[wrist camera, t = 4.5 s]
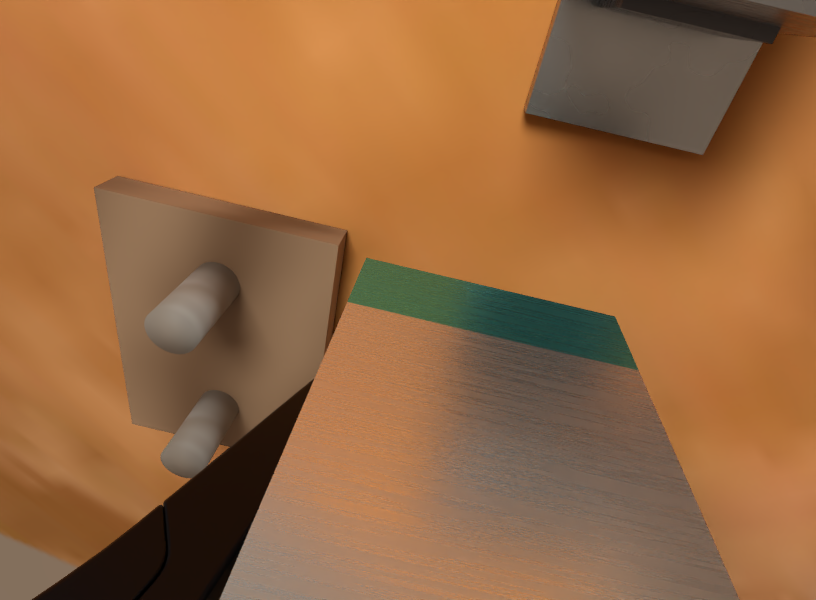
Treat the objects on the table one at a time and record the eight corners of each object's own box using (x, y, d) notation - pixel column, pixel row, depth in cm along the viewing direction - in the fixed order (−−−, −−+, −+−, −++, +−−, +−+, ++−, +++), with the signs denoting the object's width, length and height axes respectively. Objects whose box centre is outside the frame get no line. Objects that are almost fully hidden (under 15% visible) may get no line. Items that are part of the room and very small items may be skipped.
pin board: (347, 230, 16) (311, 293, 13) (316, 444, 22) (286, 527, 19) (117, 175, 16) (17, 223, 13) (148, 404, 22) (85, 480, 19)
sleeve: (615, 316, 9) (910, 992, 3) (530, 475, 11) (590, 1011, 5) (366, 258, 9) (128, 811, 3) (336, 430, 11) (178, 916, 5)
